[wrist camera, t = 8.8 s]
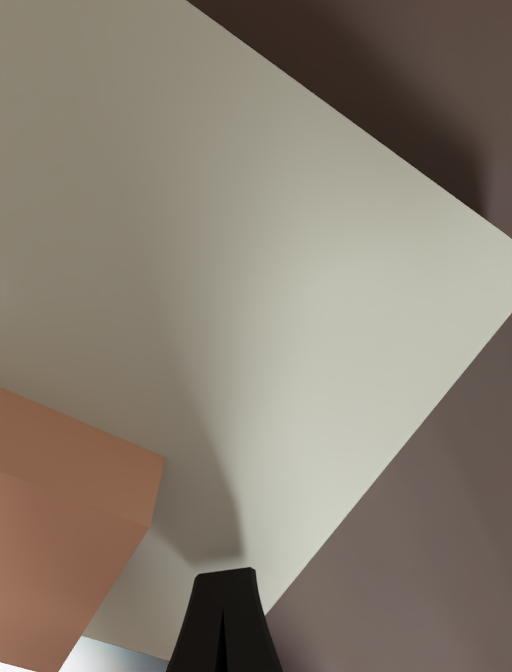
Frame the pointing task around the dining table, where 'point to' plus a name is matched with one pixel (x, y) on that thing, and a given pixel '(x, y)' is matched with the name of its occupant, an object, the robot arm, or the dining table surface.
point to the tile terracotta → (63, 526)
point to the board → (221, 287)
